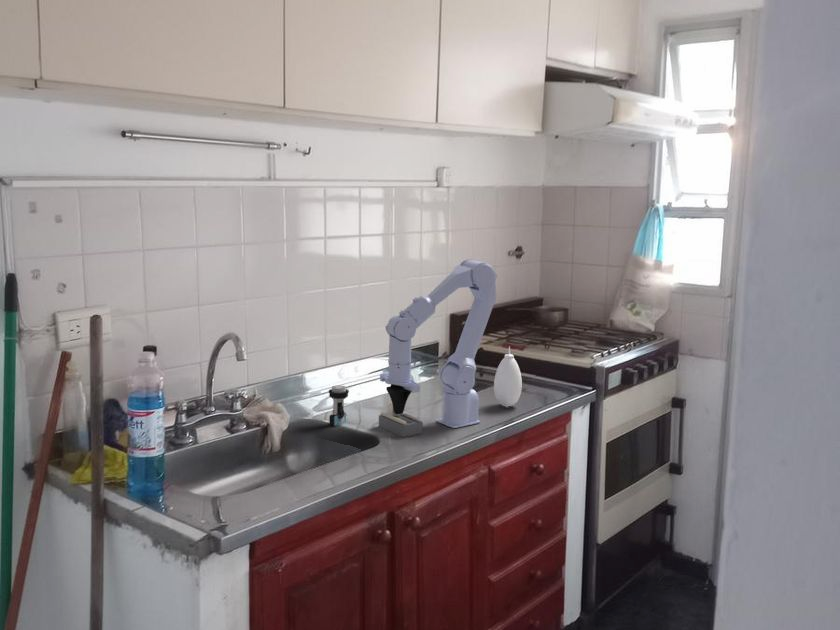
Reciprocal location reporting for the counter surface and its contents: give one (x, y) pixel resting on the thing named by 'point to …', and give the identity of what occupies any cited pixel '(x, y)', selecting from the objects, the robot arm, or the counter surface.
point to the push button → (338, 405)
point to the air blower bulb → (508, 381)
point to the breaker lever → (391, 409)
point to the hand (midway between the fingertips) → (398, 413)
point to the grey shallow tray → (401, 424)
